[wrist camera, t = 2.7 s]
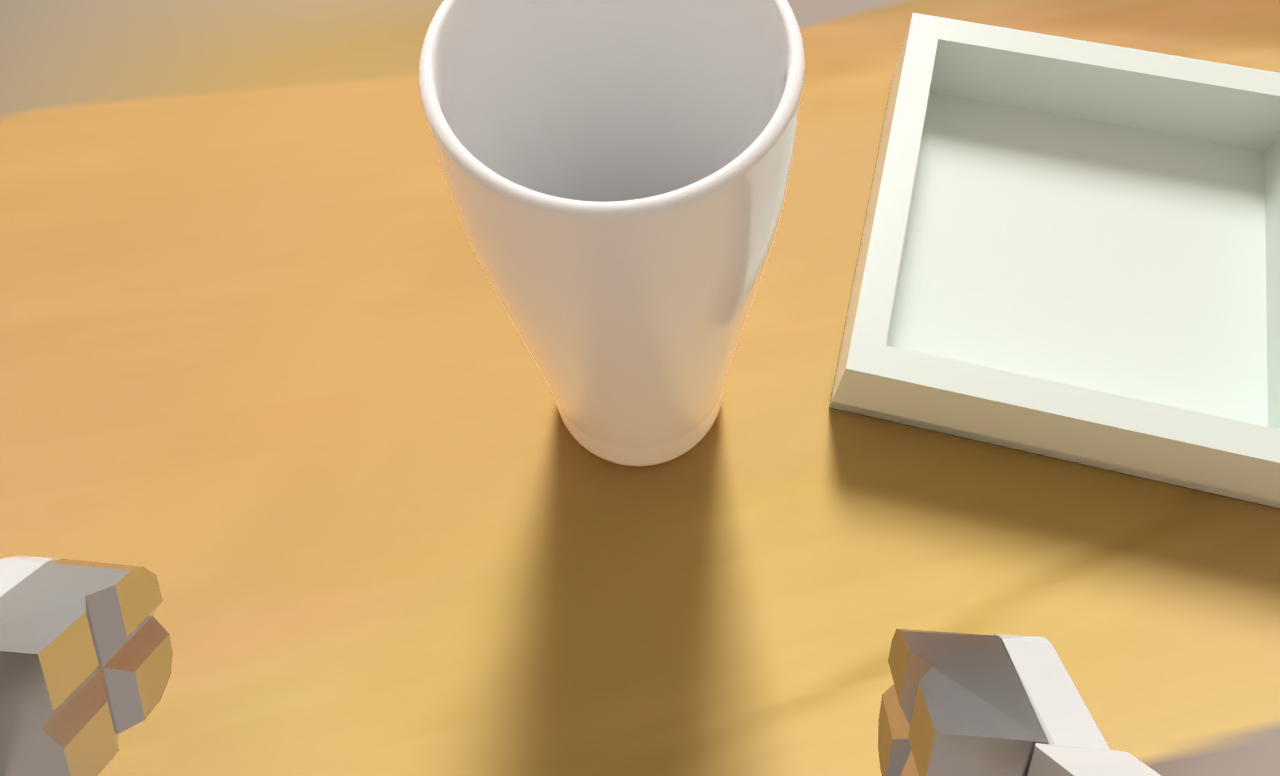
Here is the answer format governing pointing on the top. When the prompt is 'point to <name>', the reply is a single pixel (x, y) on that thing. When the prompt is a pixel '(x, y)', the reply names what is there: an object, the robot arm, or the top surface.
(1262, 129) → the tray
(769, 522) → the top surface
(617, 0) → the white tall cup
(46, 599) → the robot arm
